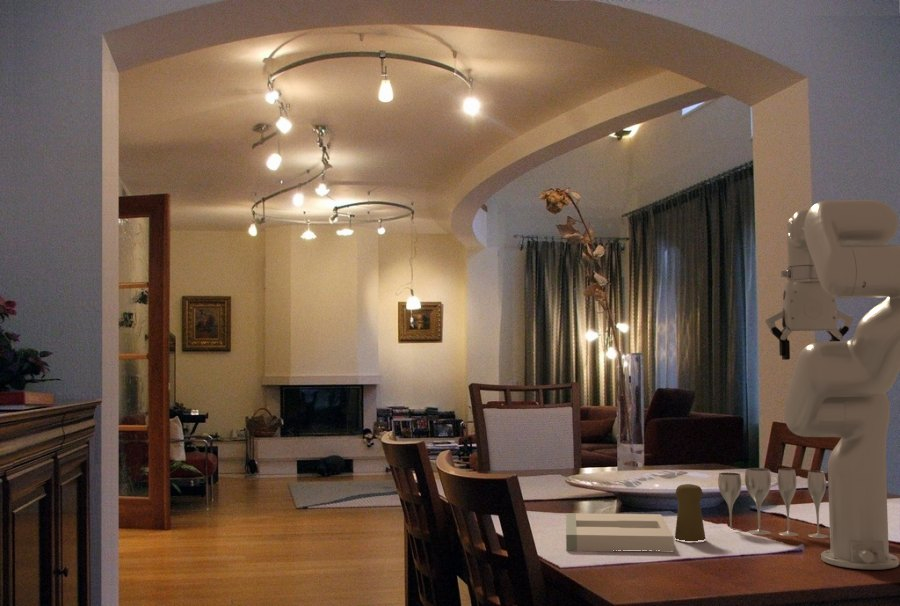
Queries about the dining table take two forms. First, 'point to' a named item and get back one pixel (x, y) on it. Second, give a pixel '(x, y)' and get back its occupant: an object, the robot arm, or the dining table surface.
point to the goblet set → (760, 486)
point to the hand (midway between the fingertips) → (810, 359)
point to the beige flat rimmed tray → (617, 532)
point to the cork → (689, 513)
